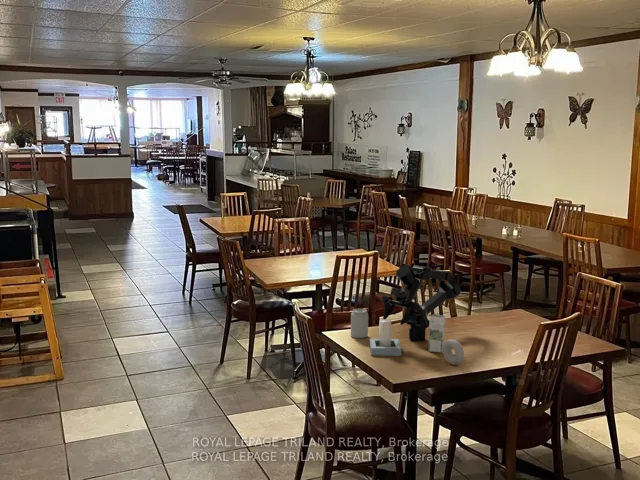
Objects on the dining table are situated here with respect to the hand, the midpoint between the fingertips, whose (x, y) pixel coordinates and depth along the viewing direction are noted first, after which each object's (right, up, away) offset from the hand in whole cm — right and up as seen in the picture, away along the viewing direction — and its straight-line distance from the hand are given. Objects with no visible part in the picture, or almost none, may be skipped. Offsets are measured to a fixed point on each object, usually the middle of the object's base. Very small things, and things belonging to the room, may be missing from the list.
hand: (392, 321), depth 260 cm
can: (-12, -9, +17) cm, 23 cm away
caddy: (-3, -12, -1) cm, 12 cm away
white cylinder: (-3, -11, -1) cm, 12 cm away
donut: (+22, -14, -16) cm, 31 cm away
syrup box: (+18, -12, -1) cm, 22 cm away
